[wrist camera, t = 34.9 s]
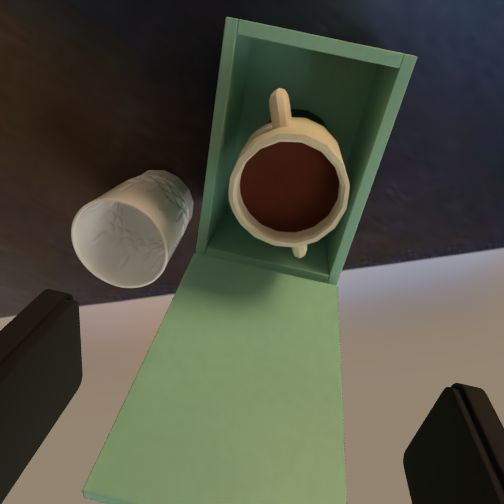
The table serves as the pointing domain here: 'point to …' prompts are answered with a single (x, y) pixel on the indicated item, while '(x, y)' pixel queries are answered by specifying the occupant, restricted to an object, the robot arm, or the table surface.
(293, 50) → the bin
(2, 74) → the table surface
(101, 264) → the white cup
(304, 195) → the character mug
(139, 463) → the bin lid
